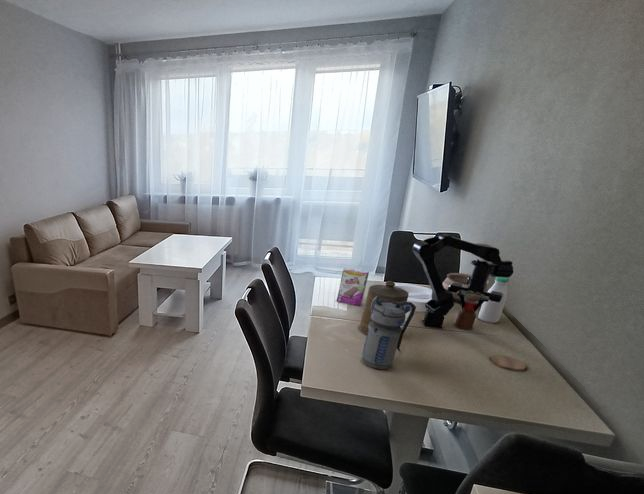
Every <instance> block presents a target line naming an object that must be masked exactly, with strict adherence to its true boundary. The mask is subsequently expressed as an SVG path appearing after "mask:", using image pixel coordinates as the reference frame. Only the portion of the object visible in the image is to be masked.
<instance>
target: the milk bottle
mask: <svg viewBox="0 0 644 494" xmlns="http://www.w3.org/2000/svg"><path fill="white" fill-rule="evenodd" d="M509 281H510V277H508V278H505V277H495V279H494V284H493V285H492V286H491V287H490V288H489V289H487V292H489V293H491V292H492V291H496V292H501V293H503V297H502V300H501V301H500V302H494V301H490V299H489V301H488V302H484V303H483V304H481V305H480V309H479V312H478V315H477V318H478V319H479V320H480V321H483V322H486V323H492V324H494V323H495V324H496V323H498V322H499V320H500V318H501V316H502V313H503V310H504V307H505V305H506V302H507V298H508V290H507V284H508V283H509Z"/></svg>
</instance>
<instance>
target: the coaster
mask: <svg viewBox="0 0 644 494" xmlns="http://www.w3.org/2000/svg"><path fill="white" fill-rule="evenodd" d="M490 360H491V362H492V363H493V364H494V365H496V366H497V367H500V368H502V369H505V370H509V371H513V372H523V371H525V370H526V368H527V365H526V364H525V362H523V361H521V360H519V359H517V358H514V357H511V356H507V355H500V354H499V355H498V354H497V355H493V356H491V359H490Z"/></svg>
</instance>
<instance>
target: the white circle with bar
mask: <svg viewBox="0 0 644 494" xmlns="http://www.w3.org/2000/svg"><path fill="white" fill-rule="evenodd" d="M394 283H395V286H394V287H398V288H401V289H403V290H405V291H407V292H408V294H409V295H408V299H407V302H411V303H413V304H414V305H415V306H416V309H415V312H417V313H418V312H420V313H426V310H427V308H425V303H427V302H428V301H430V300H431V299H432V297H431V295H432V289H431V287H430V288H429V287H426V286H422V285H418V284H413V283H404V282H394ZM383 285H386V283H384V284H383ZM411 309H412V307H411ZM409 312H411V310H410V311H409Z"/></svg>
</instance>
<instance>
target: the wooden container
mask: <svg viewBox="0 0 644 494" xmlns="http://www.w3.org/2000/svg"><path fill="white" fill-rule="evenodd" d="M395 283H396V282H394V281H392V280H387V281H386V282H385V284H386V285H384V284H373V285H370V286H369V287H368V291H367V295H366V299H365V303H364V307H363V310H362V314H361V318H360V323H359V330H360V331H361V333H363V334H365V335H367V332H368V327H369V323H370V322H371V321H372V319H371V314H372V312H371V304H372V300H373V299H374V298H375V297H376V296H379V300H389V303H392V302H391V301H394V302H403V301H406V302H407V299H408V295H409V294H408V292H407V291H405V290H403V289H401V288H398V287H394V286H395ZM400 306H401V307H403V305H400Z"/></svg>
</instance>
